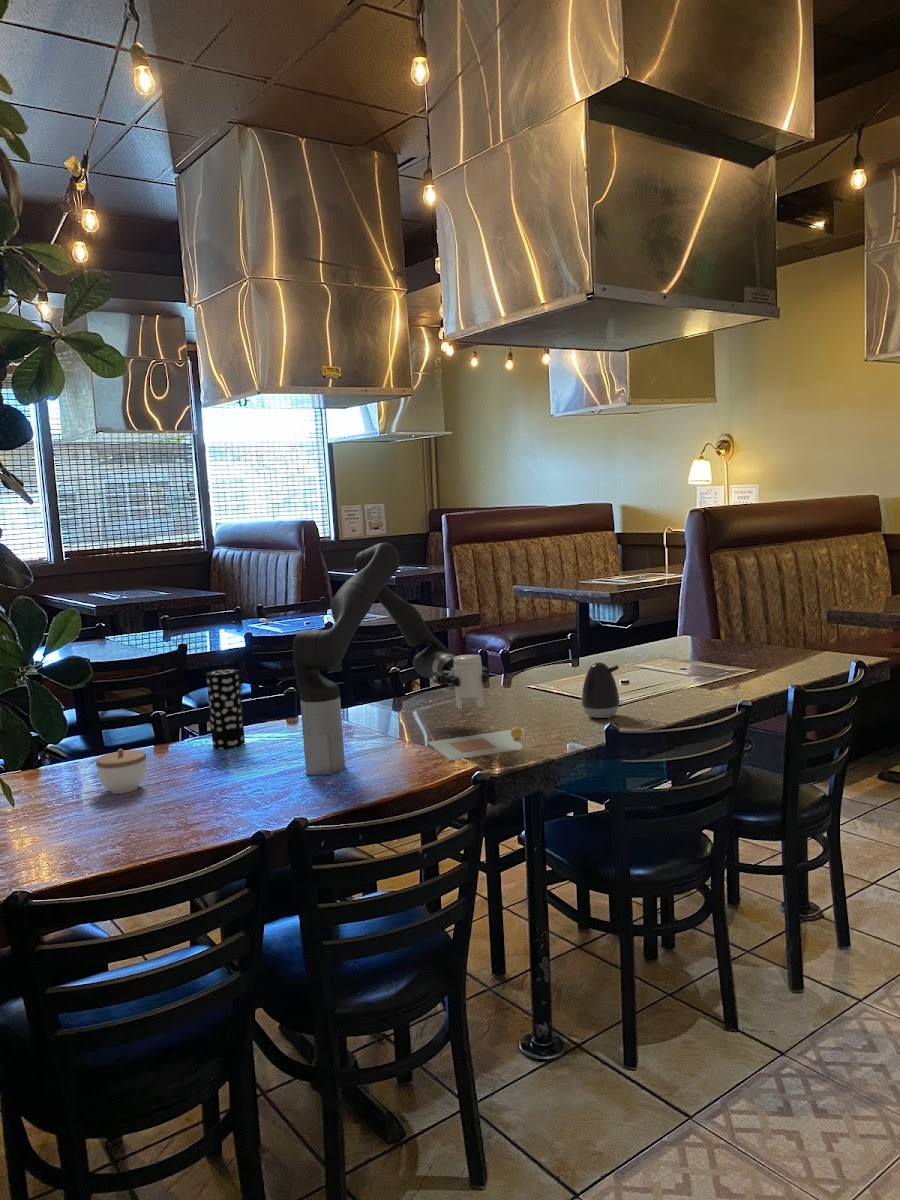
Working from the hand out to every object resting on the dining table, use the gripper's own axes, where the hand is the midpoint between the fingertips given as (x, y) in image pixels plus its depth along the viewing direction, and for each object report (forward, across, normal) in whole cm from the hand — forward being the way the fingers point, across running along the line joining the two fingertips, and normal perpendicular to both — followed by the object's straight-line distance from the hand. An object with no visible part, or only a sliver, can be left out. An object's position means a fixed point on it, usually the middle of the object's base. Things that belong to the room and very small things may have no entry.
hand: (471, 680), depth 213 cm
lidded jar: (-11, -82, +17) cm, 85 cm away
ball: (-2, +12, +15) cm, 19 cm away
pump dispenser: (-12, +41, +18) cm, 47 cm away
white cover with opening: (-2, 0, +7) cm, 7 cm away
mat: (-2, +6, +17) cm, 18 cm away
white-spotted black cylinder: (-37, -57, +18) cm, 70 cm away
